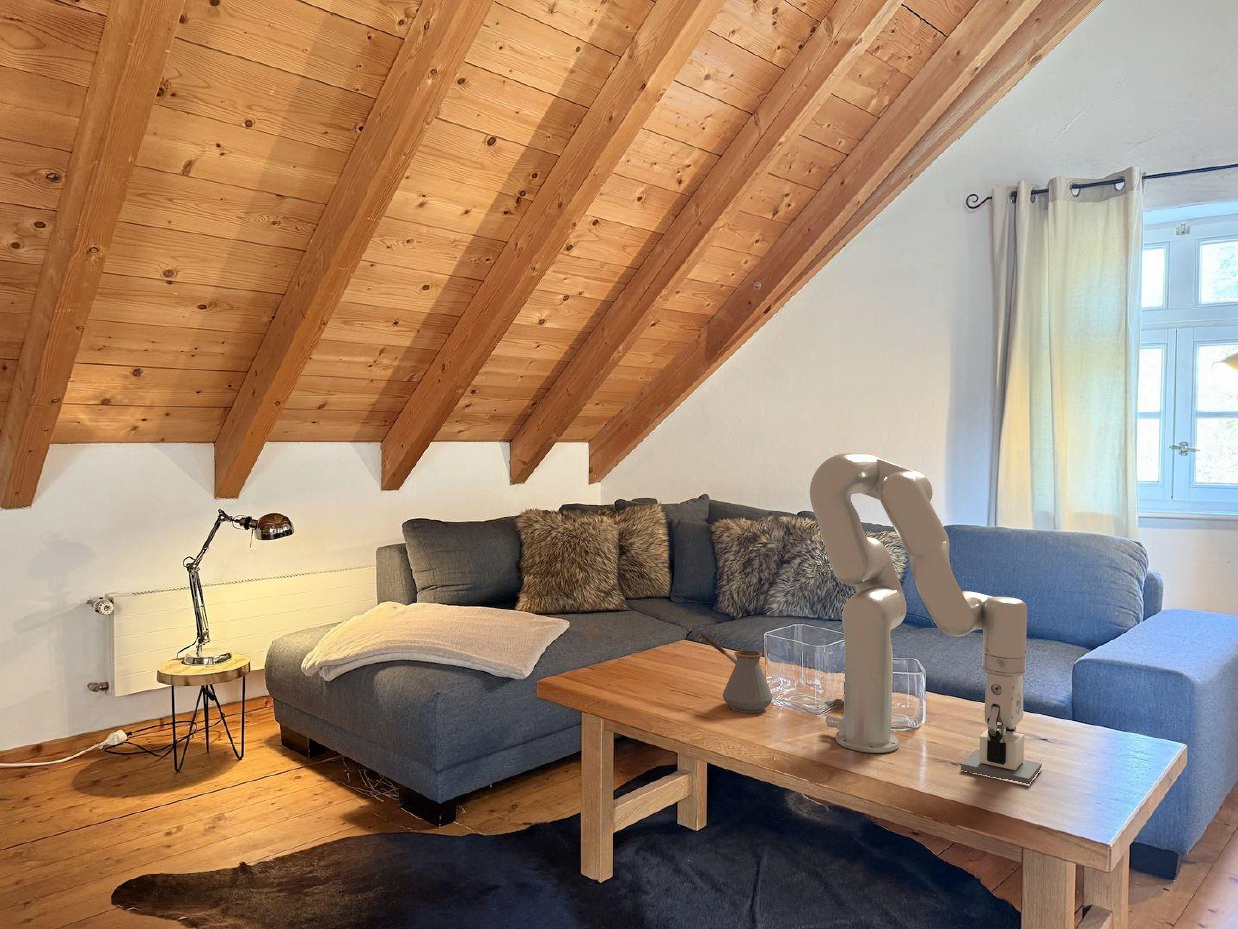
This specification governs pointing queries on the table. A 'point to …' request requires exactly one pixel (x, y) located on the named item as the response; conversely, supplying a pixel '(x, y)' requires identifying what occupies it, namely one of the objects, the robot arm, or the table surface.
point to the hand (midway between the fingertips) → (1001, 756)
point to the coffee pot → (745, 681)
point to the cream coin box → (1012, 750)
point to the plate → (1001, 769)
